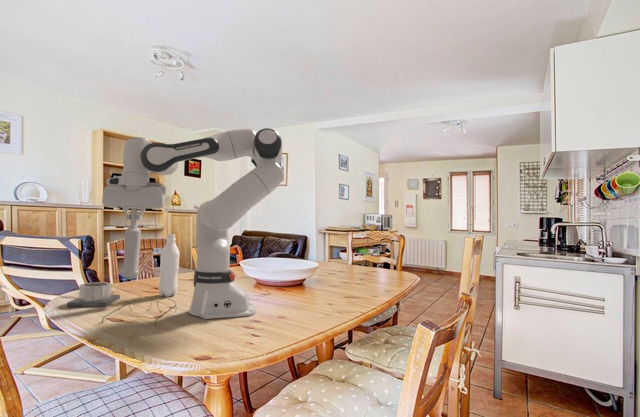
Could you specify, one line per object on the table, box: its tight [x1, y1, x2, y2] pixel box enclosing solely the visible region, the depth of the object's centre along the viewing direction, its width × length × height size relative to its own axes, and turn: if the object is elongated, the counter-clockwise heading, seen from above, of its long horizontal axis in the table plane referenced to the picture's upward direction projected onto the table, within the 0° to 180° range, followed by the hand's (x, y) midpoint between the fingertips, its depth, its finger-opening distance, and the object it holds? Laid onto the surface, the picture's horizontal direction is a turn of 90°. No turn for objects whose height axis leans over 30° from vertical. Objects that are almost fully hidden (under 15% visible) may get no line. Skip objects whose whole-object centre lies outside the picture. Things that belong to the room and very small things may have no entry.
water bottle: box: [157, 233, 181, 298], centre depth 133 cm, size 7×7×25 cm
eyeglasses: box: [101, 296, 177, 327], centre depth 103 cm, size 16×15×5 cm
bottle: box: [122, 207, 142, 279], centre depth 118 cm, size 5×5×25 cm
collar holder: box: [66, 281, 121, 308], centre depth 117 cm, size 12×12×6 cm
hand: (133, 219), depth 118 cm, fingers closed on bottle, 2 cm apart
